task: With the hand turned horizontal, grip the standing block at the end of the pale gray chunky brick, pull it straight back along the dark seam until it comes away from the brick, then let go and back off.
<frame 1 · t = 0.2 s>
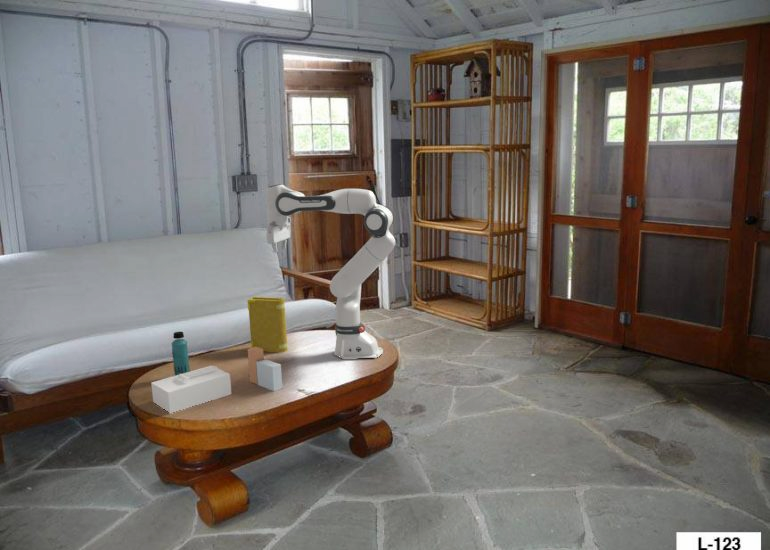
hand: (279, 250, 281), 48 cm above the table, tool pointing down, fingers open, 8 cm apart
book: (270, 350, 293), on the table
beverage bottle: (182, 378, 259), on the table
block: (256, 365, 251), point 7 cm above the table, slide at 0.0 cm
pale gray chunky brick: (269, 386, 246), on the table
tissue box: (193, 399, 237), on the table
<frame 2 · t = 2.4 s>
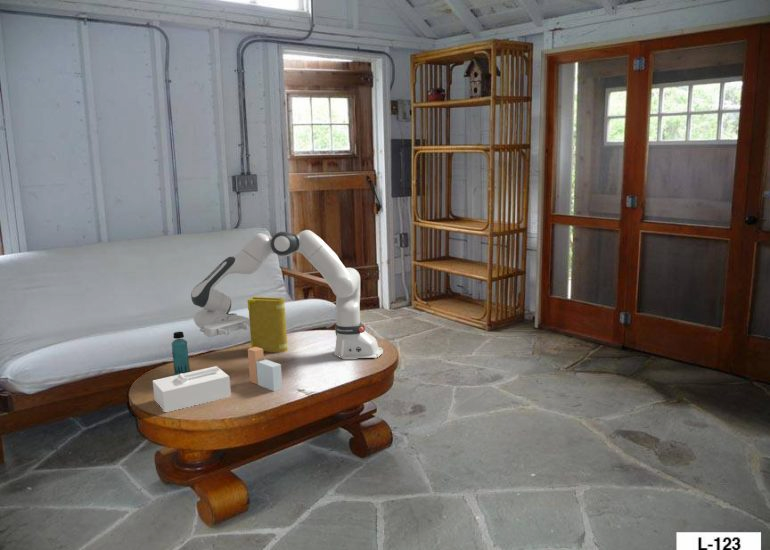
hand: (237, 329, 256), 20 cm above the table, tool horizontal, fingers open, 8 cm apart
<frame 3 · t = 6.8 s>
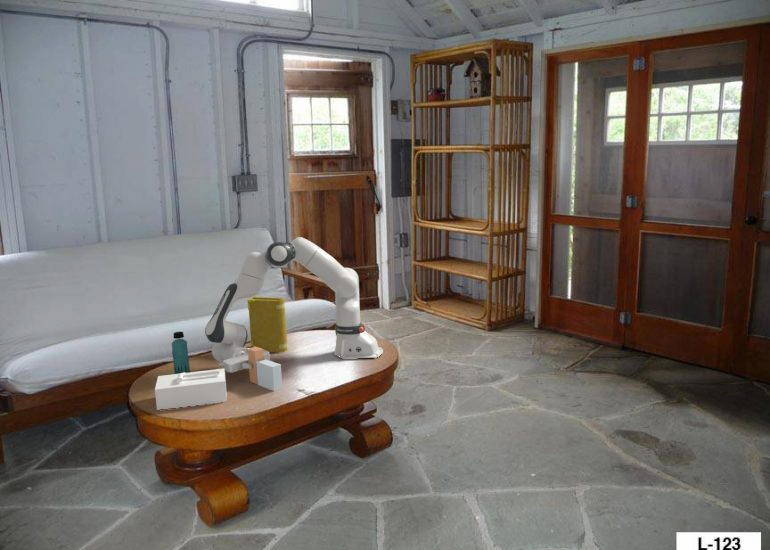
hand: (257, 364, 250), 8 cm above the table, tool horizontal, fingers closed on block, 4 cm apart
block: (256, 365, 251), point 7 cm above the table, slide at 0.0 cm, touching gripper
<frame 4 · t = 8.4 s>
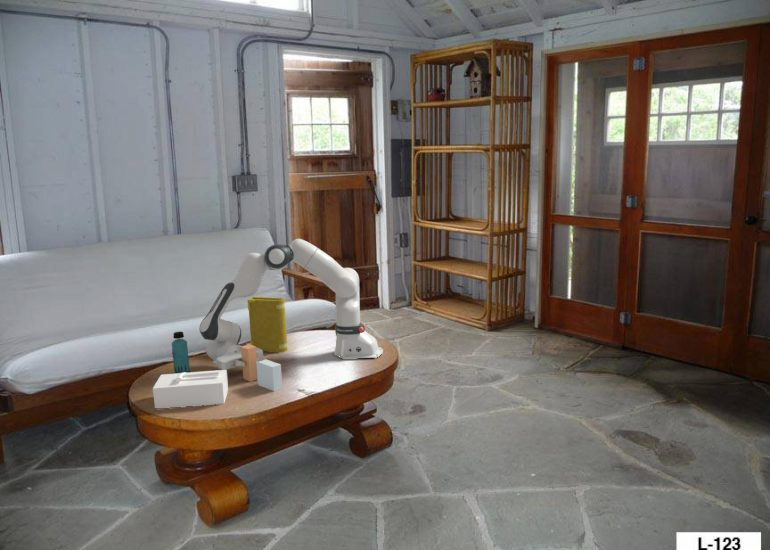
hand: (250, 362, 253), 8 cm above the table, tool horizontal, fingers closed on block, 4 cm apart
block: (249, 362, 254), point 7 cm above the table, slide at 4.9 cm, touching gripper
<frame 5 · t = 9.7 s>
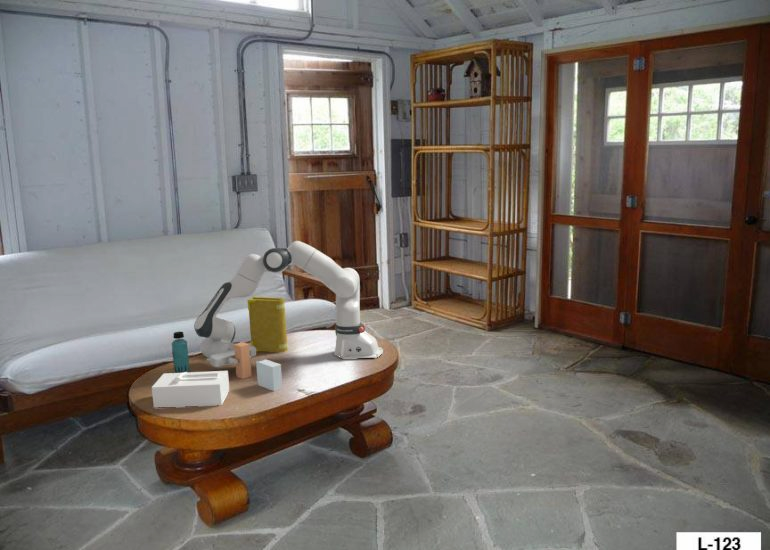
hand: (243, 359, 257), 8 cm above the table, tool horizontal, fingers closed on block, 4 cm apart
block: (242, 360, 257), point 7 cm above the table, slide at 9.9 cm, touching gripper
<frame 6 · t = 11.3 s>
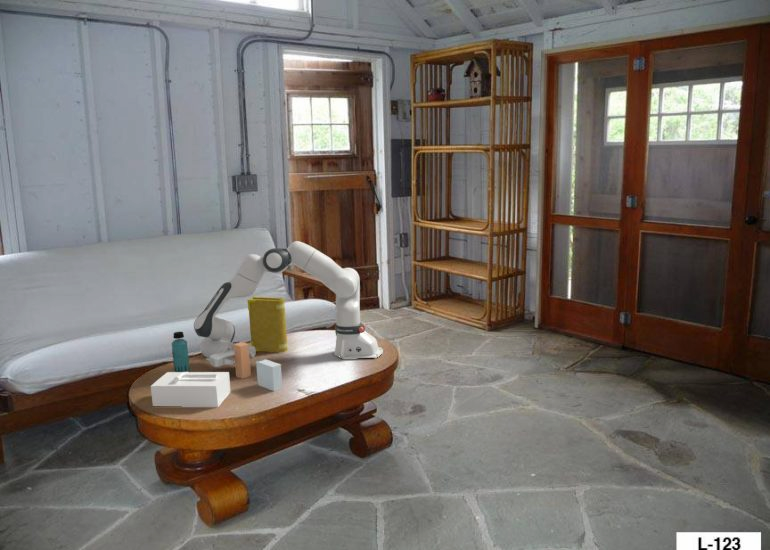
hand: (243, 359, 257), 8 cm above the table, tool horizontal, fingers open, 8 cm apart
block: (242, 360, 258), point 7 cm above the table, slide at 10.3 cm
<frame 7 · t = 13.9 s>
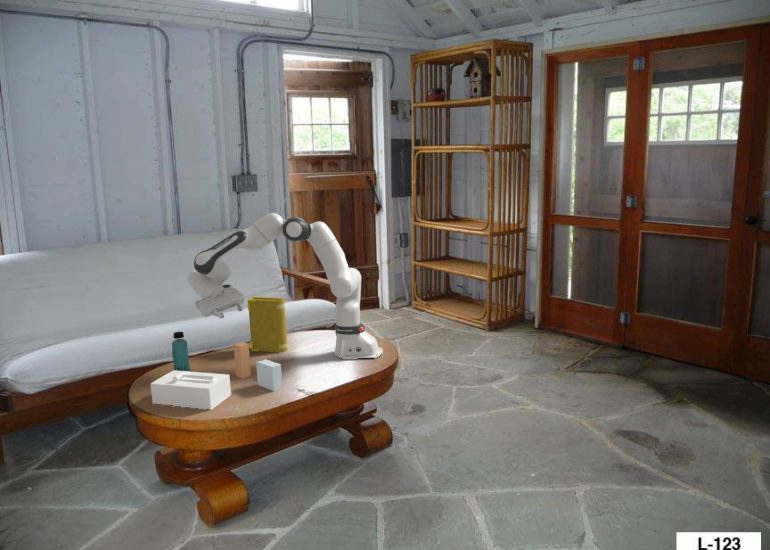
hand: (232, 313, 261), 26 cm above the table, tool tilted 65°, fingers open, 8 cm apart
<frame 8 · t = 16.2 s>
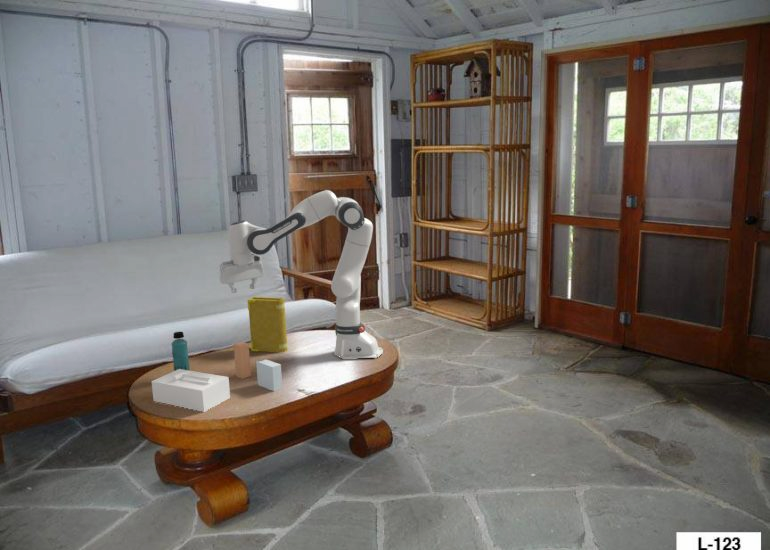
hand: (243, 290, 265), 34 cm above the table, tool pointing down, fingers open, 8 cm apart
at the end: block slide at 10.3 cm; the gripper is holding nothing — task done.
